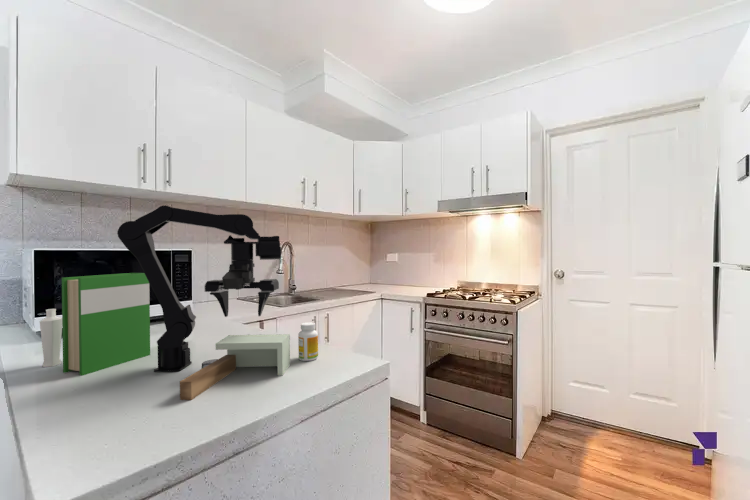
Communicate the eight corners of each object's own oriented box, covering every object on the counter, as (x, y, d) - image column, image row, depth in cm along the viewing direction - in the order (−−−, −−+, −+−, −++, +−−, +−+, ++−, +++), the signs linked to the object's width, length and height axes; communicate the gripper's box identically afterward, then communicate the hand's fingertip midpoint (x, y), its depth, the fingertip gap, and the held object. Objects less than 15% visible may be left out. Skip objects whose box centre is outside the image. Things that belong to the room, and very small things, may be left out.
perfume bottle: (35, 366, 92) (34, 310, 92) (55, 361, 96) (55, 307, 96) (45, 368, 91) (44, 311, 91) (65, 363, 95) (64, 308, 95)
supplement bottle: (320, 355, 99) (320, 321, 99) (315, 361, 94) (314, 325, 94) (302, 355, 100) (301, 321, 100) (295, 361, 94) (295, 325, 94)
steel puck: (197, 375, 85) (197, 365, 85) (209, 368, 90) (209, 358, 90) (216, 376, 84) (216, 366, 84) (227, 369, 89) (227, 359, 89)
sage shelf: (215, 376, 83) (215, 343, 83) (229, 365, 91) (228, 335, 91) (282, 375, 84) (282, 342, 84) (290, 364, 92) (289, 334, 92)
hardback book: (81, 375, 85) (80, 278, 85) (63, 372, 88) (61, 277, 88) (150, 354, 102) (149, 273, 102) (132, 352, 104) (131, 272, 104)
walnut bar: (180, 401, 71) (179, 381, 71) (226, 370, 89) (226, 354, 89) (191, 401, 71) (191, 381, 71) (235, 370, 88) (235, 354, 88)
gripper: (193, 261, 88) (194, 323, 88) (267, 260, 89) (268, 321, 89) (213, 260, 99) (214, 314, 99) (278, 259, 100) (279, 313, 100)
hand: (243, 316), depth 96 cm, fingers open, 9 cm apart
